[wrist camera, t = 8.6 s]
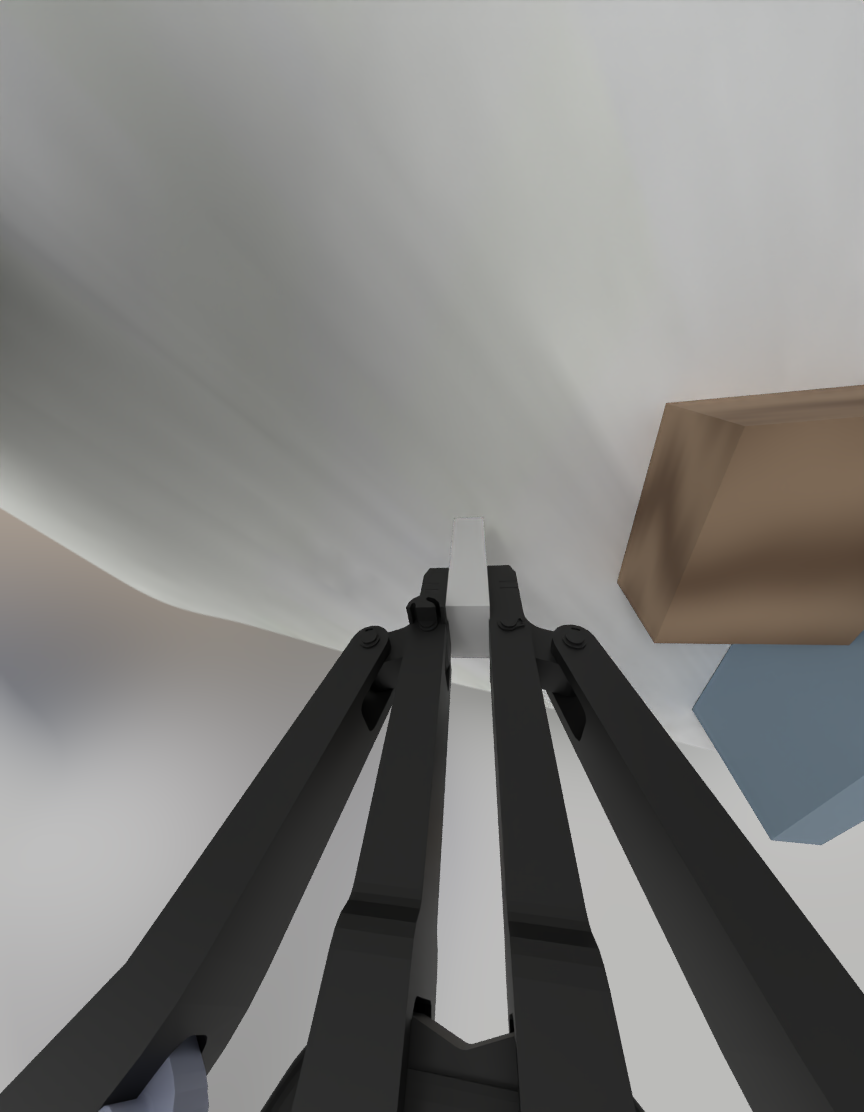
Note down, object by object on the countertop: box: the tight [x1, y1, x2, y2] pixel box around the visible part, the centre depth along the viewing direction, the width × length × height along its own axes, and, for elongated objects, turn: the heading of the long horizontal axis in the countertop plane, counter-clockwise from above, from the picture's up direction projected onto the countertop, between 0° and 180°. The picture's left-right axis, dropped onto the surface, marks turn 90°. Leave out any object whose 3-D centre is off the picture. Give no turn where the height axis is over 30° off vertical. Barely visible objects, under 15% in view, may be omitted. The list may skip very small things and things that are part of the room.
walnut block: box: [617, 385, 864, 645], centre depth 14 cm, size 10×8×5 cm
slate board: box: [692, 630, 864, 845], centre depth 15 cm, size 22×2×8 cm, turn 6°
